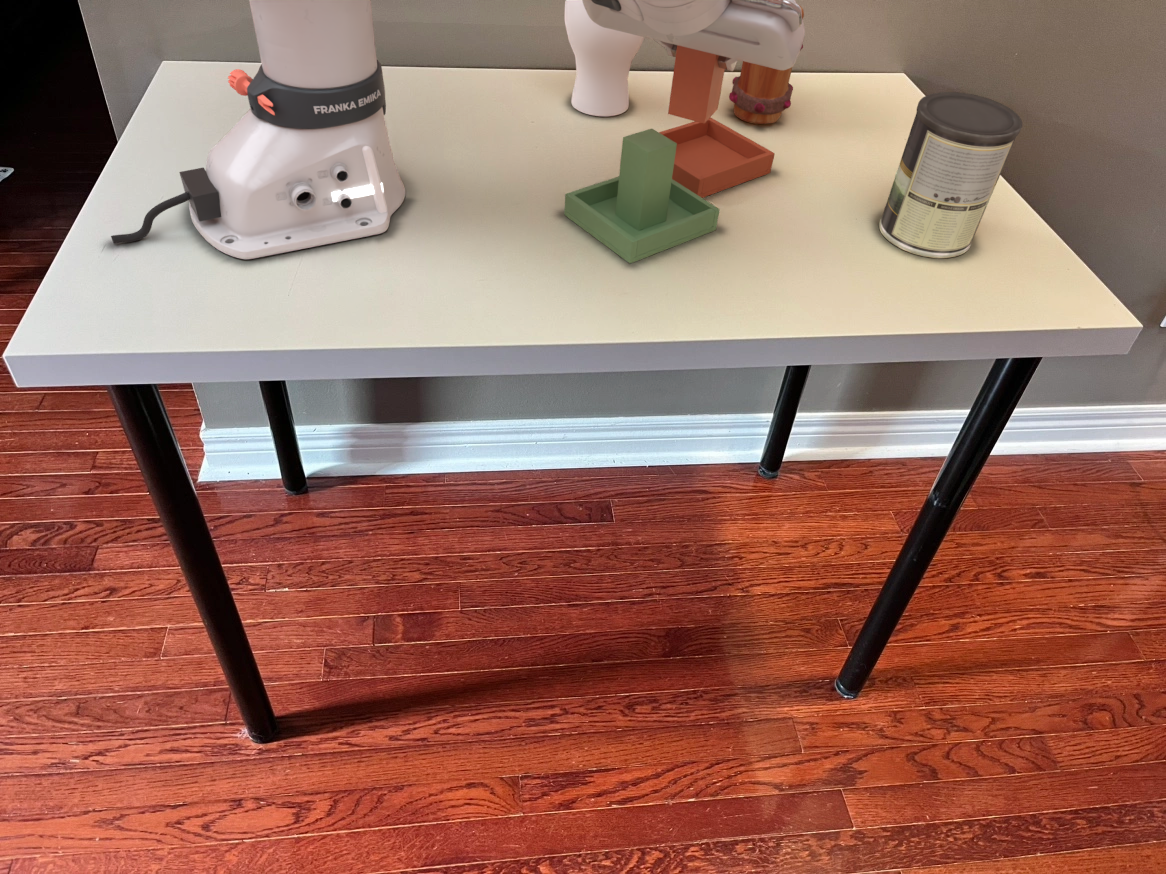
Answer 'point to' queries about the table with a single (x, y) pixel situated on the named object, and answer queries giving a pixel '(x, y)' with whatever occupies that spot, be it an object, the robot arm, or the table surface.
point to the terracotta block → (695, 85)
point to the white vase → (599, 63)
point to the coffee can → (948, 173)
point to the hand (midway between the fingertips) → (703, 56)
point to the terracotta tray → (715, 157)
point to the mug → (761, 92)
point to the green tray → (682, 224)
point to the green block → (645, 178)
